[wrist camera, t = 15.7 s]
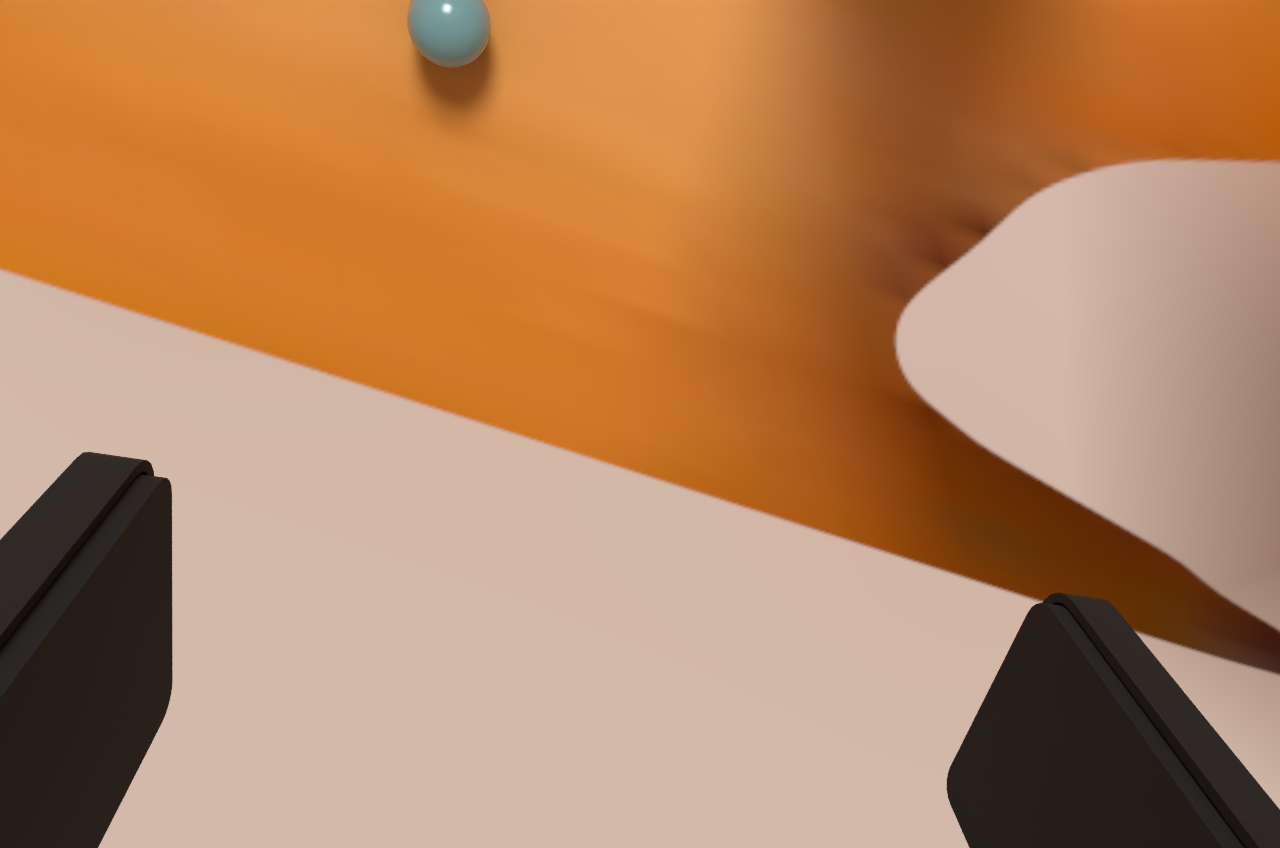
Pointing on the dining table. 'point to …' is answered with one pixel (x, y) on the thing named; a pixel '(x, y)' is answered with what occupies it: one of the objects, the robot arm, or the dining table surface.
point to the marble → (449, 30)
